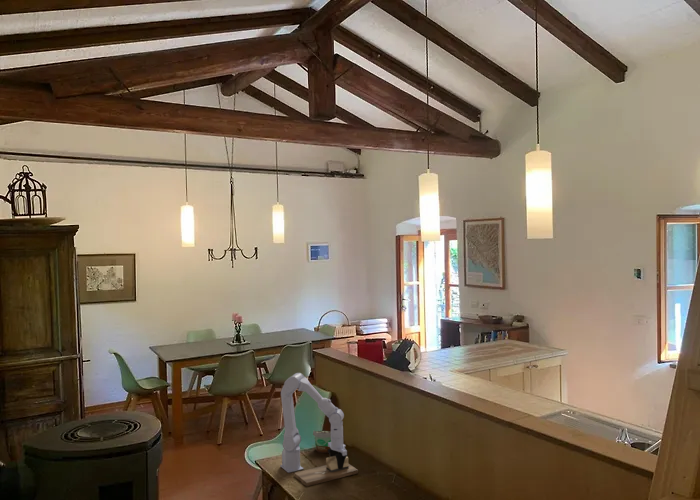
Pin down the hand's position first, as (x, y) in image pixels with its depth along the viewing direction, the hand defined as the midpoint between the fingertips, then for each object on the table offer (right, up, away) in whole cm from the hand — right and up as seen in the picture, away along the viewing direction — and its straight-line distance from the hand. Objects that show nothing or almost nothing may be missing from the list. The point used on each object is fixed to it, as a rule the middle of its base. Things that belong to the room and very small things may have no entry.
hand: (337, 466), depth 250 cm
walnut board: (-5, -3, -3) cm, 6 cm away
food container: (-8, -3, +27) cm, 28 cm away
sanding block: (0, -1, 0) cm, 1 cm away
